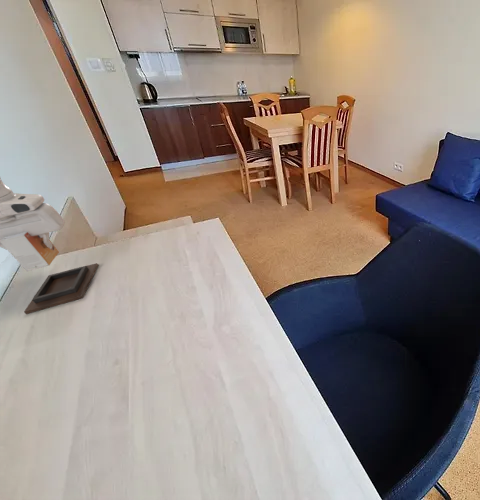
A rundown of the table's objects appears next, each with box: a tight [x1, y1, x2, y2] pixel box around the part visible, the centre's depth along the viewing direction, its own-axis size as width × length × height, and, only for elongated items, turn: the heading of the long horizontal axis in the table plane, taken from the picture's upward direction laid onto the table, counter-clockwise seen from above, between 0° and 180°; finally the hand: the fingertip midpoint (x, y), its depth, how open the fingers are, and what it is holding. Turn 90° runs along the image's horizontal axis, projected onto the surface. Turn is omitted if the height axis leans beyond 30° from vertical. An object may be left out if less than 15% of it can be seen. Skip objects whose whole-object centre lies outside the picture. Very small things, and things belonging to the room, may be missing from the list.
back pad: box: [23, 262, 100, 315], centre depth 94 cm, size 14×18×2 cm
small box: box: [0, 232, 60, 272], centre depth 86 cm, size 8×6×10 cm
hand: (34, 250), depth 87 cm, fingers closed on small box, 5 cm apart
